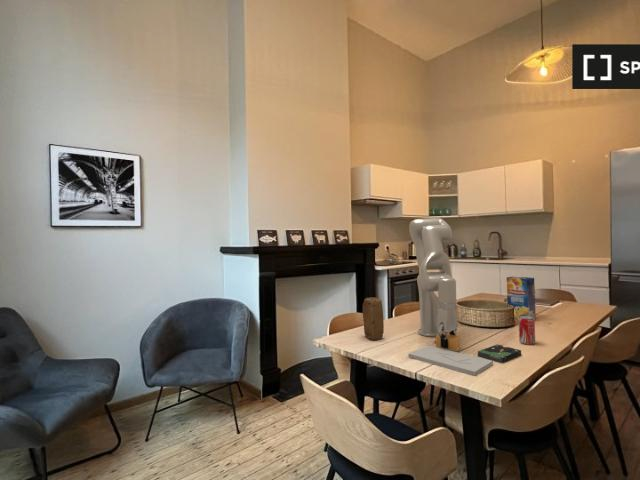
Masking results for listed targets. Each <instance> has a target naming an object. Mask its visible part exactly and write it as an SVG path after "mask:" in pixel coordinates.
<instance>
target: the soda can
mask: <svg viewBox="0 0 640 480" xmlns="http://www.w3.org/2000/svg"><path fill="white" fill-rule="evenodd" d="M535 321H536V320H534V319H533V317H531V316H520V317H519V320H518V338H519V339H518V340H519V342H520V344H523V345H526V346H532V345H534V344H536V330H535V329H536V324H535V323H536V322H535Z"/></svg>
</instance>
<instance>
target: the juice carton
mask: <svg viewBox="0 0 640 480" xmlns="http://www.w3.org/2000/svg"><path fill="white" fill-rule="evenodd" d="M535 292H536V289H535V277H528V276H525V277H524V276H514V275H513V276H507V277H506V297H507V298H506V300H507V305H508V304H509V305H512V306H513V307H514V314H515V319H514V320H517V321H519V317H520V316H531V317H533V319H534V321H536V319H537V317H536V293H535Z"/></svg>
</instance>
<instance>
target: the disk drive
mask: <svg viewBox="0 0 640 480" xmlns="http://www.w3.org/2000/svg"><path fill="white" fill-rule="evenodd" d="M520 356H522V350H521V349H517V348H514V347H510V346H503V345H502V344H494V345H492V346H489V347H485V348H484V349H483V348H482V349H480V350H478V351H477V357H479V358H483V359H487V360H491V361H493V362H496V363H499V364H504V363H506V362H508V361H511V360H514V359H516V358H518V357H520Z"/></svg>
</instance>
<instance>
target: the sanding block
mask: <svg viewBox="0 0 640 480" xmlns="http://www.w3.org/2000/svg"><path fill="white" fill-rule="evenodd" d="M443 334H444V335H445V333H443ZM447 339H448V348H443V347H441V339H440V336H439V334H438V335H437V336H436V337H435V347H437V348H441V349H446V350H450V351H454V352H458V351H459V349H461V347H462V344H461V343H462V342H461V341H462V340H461V335H457V334H456V335H450V334H449V333H448V335H447Z"/></svg>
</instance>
